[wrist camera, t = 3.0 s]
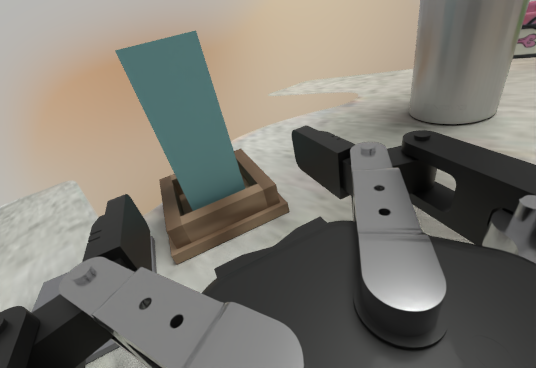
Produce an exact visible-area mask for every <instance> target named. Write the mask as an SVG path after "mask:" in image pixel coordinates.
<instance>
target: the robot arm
mask: <svg viewBox="0 0 536 368" xmlns="http://www.w3.org/2000/svg"><path fill="white" fill-rule="evenodd" d="M529 1H530V0H420V10H419V20H418V30H417V40H416V50H415V60H414V69H413V79H412V88H411V98H410V108H409V113H410V115H411V116H412V117H414V118H416V119H418V120H421V121H425V122H430V123H438V124H463V123H472V122H477V121H481V120H484V119H487V118H489V117H491V116H493V115H494V114H495V113H496V111H497V108H498V105H499V102H500V98H501V95H502V92H503V88H504V85H505V82H506V78H507V76H508V72H509V69H510V65H511V62H512V59H513V55H514V52H515V49H516V45H517V42H518V38H519V35H520V32H521V28H522V25H523V21H524V18H525V15H526V11H527V8H528V4H529ZM292 141H293V147H294V153H295V158H296V162H297V164H298V166H299V168H300V169H301V170H302V171H304V172H305V173H306V174H308V175H309V176H310V177H312V178H313V179H314V180H316V181H317V182H318V183H320V184H321V185H322V186H323V187H325V188H326V189H327V190H329V191H330V192H331V193H333V194H334V195H335V196H337V197H338V198H339V199H343V198H345V197H347V196H349V195H351V196H352V212H353V221H334V222H329V223H327V222H326V221H325V220H323V219H322V218H321V217H318V218H316V219H314V220H312V221H310V222H308V223H306V224H304V225H302V226H300V227H298V228H296V229H295V230H294V231H292V232H291V233H290V234H289V235H287V236H286V237H285V238H284V239H282V240H281V241H280V242H279V243H277V244H276V245H275V246H273V247H270V248H266V249H262V250H259V251H255V252H251V253H248V254H244V255H241V256H239V257H237V258H235V259H233V260H231V261H229V262H227V263H225V264H223V265H221V266H219V267H217V268H215V269H214V270H215V273H216V276H217V279H215V280H214V281H213V282H212V283H211V284H210V285H209V286H208V287H207V288H206V289H205V290H204V291H203V292H202V293H199V292H197V291H195V290H193V289H190V288H188V287H186V286H184V285H181V284H179V283H177V282H175V281H172V280H170V279H168V278H166V277H164V276H161V275H159V274H157V273H155V272H152V258H151V238H150V230H149V227H148V225H147V223H146V221H145V219H144V218H143V216H142V215H141V213H140V212H139V210H138V208H137V207H136V205H135V204H134V202H133V201H132V199H131V197H130V196H129V195H127V194H125V195H123V196H120V197H117V198H115V199H112V200H110V201H108V203H107V207H106V212H105V215H102V216H100V217H99V218H98V219H97V221H96V222H95V223H94V224H93V226H92V229H91V232H90V236H89V240H88V242H89V243H87V247H86V251H85V254H84V258H83V262H82V263H80V264H79V265H77V266H76V267H74V268H73V269H72V270H71V271H70V272H69V273H68V274H67V275H66V276H65V277H64V278H63V280H62V281H61V283H60V285H59V290H58V291H59V293H60V294H59V295H58V296H56V297H55V298H53V299H52V300H50V301H49V302H47V303H46V304H44V305H43V306H41V307H40V308H38V309H37V310H35V311H33V312H32V313H31V312H29V311H28V310H27V309H25V308H24V307H22V306H16V307H12V308H9V309H7V310H4V311H2V312H0V368H85V364H86V359H87V358H88V357H89V356H90V355H92V354H93V353H94V352H95V351H97V350H98V349H99V348H100V347H101V346H103V345H104V344H105V343H106V342H108V341H109V340H110V339H111V340H112V341H114V342H115V343H116V344H118V345H119V346H120V347H122V348H123V349H124V350H125V351H127V352H128V353H129V354H131V355H132V356H133V357H135V358H136V359H137V360H139V361H140V362H141V363H143V364H144V365H145V366H147V367H148V368H536V165H534V164H531V163H528V162H525V161H522V160H519V159H516V158H513V157H510V156H507V155H504V154H501V153H497V152H494V151H491V150H488V149H485V148H482V147H479V146H476V145H473V144H470V143H467V142H464V141H461V140H457V139H454V138H451V137H448V136H445V135H442V134H439V133H436V132H432V131H413V132H409V133H407V134H405V135H404V136H403V140H402V146H398V147H394V148H389V149H387V148H386V147H385V146H384V145H383V144H380V143H376V142H363V143H359V144H356V145H355V144H353V143H351V142H349V141H347V140H344V139H342V138H340V137H338V136H335V135H333V134H331V133H329V132H324V131H318V130H315V129H313V128H311V127H309V126H303V127H301V128H298V129H296V130H293V131H292ZM437 169H440V170H442V171H444V172H446V173H448V174H450V175H452V176H453V178H454V179H455V181H456V190H455V191H453V190H451V189H449V188H447V187H445V186H443V185H441V184H439V183H437V182H435V176H436V171H437ZM412 204H413V205H415V206H416V207H418V208H419V209H421V210H422V211H424V212H426V213H427V214H429V215H430V216H432V217H433V218H435V219H437V220H438V221H440V222H441V223H443V224H444V225H446V226H447V227H449V228H451V229H452V230H454V231H455V232H457V233H458V234H460V235H462V236H463V237H465V238H466V239H468V240H469V241H471V242H473V243H474V244H470V243H465V242H459V241H454V240H449V239H444V238H439V237H434V236H429V235H427V234H425V233H423V232H422V230H421V228H420V225H419V222H418V219H417V217H416V214H415V211H414V208H413V205H412ZM475 244H476V245H475Z"/></svg>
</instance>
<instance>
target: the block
mask: <svg viewBox="0 0 536 368" xmlns="http://www.w3.org/2000/svg"><path fill="white" fill-rule="evenodd" d="M116 53H117V55H118V57H119V59H120V61H121V64H122V66H123V68H124V70H125V72H126V74H127V76H128V78H129V80H130V82H131V84H132V86H133V89H134V91H135V93H136V95H137V97H138V99H139V101H140V103H141V105H142V107H143V109H144V111H145V113H146V115H147V117H148V119H149V121H150V123H151V126H152V128H153V130H154V132H155V134H156V136H157V138H158V140H159V142H160V144H161V146H162V148H163V150H164V153H165V155H166V157H167V159H168V161H169V163H170V165H171V167H172V169H173V171H174V173H175V175H176V177H177V180H178V182H179V184H180V186H181V188H182V190H183V192H184V194H185V196H186V198H187V200H188V202H189V204H190V206H191V208H192V211H195V210H197V209H199V208H202V207H204V206H206V205H209V204H211V203H213V202H216V201H218V200H220V199H223V198H225V197H228V196H230V195H232V194H235V193H237V192H239V191H242V190H244V189H245V186H244V182H243V179H242V176H241V173H240V170H239V166H238V163H237V160H236V157H235V154H234V151H233V147H232V144H231V141H230V138H229V135H228V132H227V128H226V125H225V122H224V119H223V116H222V112H221V110H220V106H219V103H218V100H217V97H216V93H215V90H214V87H213V84H212V81H211V77H210V74H209V71H208V68H207V65H206V61H205V58H204V55H203V52H202V49H201V46H200V42H199V39H198V36H197V33H196V31H192V32H188V33H184V34H180V35H176V36H172V37H168V38H164V39H160V40H156V41H152V42H148V43H144V44H140V45H136V46H132V47H128V48H124V49H120V50H116Z"/></svg>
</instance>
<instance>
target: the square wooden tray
mask: <svg viewBox="0 0 536 368" xmlns="http://www.w3.org/2000/svg"><path fill="white" fill-rule="evenodd" d="M234 154H235V157H236V160H237V163H238V166H239V170H240V173H241V176H242V179H243V182H244V186H245V189H244V190H242V191H239V192H237V193H235V194H232V195H230V196H228V197H225V198H223V199H220V200H218V201H216V202H213V203H211V204H209V205H206V206H204V207H202V208H199V209H197V210H195V211H192V208H191V206H190V204H189V202H188V200H187V198H186V196H185V194H184V192H183V190H182V188H181V186H180V184H179V182H178V180H177V177H176V175H175V174H173V175H171V176H168V177H165V178H163V179H160V187H161V195H162V202H163V209H164V216H165V223H166V230H167V233H168V235H169V242H170V248H171V255H172V258H173V259H174V261H175V262H176V264H179V263H181V262H183V261H185V260H188V259H190V258H192V257H194V256H196V255H198V254H200V253H202V252H205V251H207V250H209V249H211V248H213V247H215V246H217V245H219V244H222V243H224V242H226V241H228V240H230V239H232V238H234V237H236V236H239V235H241V234H243V233H245V232H247V231H249V230H251V229H253V228H256V227H258V226H260V225H262V224H264V223H266V222H268V221H270V220H273V219H275V218H277V217H279V216H281V215H283V214H285V213H287V212H289V208H288V203H287V202H286V201H285V200H284V199H283V198H282V197H281V196H280V195H279V193H278V192H277V187H276V184H275V183H274V182H273V181H272V180H271V179H270V178H269V177H268V176H267V175H266V174H265V173H264V172H263V171H262V170H261V169H260V168H259V167H258V166H257V165H256V164H255V163H254V162H253V161H252V160H251V159H250V158H249V157H248V156H247V155H246V154H245V153H244V152H243V150H242V149H239V150H236V151H234Z"/></svg>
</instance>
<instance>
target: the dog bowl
mask: <svg viewBox="0 0 536 368" xmlns="http://www.w3.org/2000/svg"><path fill="white" fill-rule="evenodd" d="M530 57H536V1H532V2H529V4H528V8H527V11H526V15H525V18H524V21H523V25H522V28H521V32H520V35H519V38H518V42H517V45H516V49H515V52H514V55H513V58H530Z"/></svg>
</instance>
